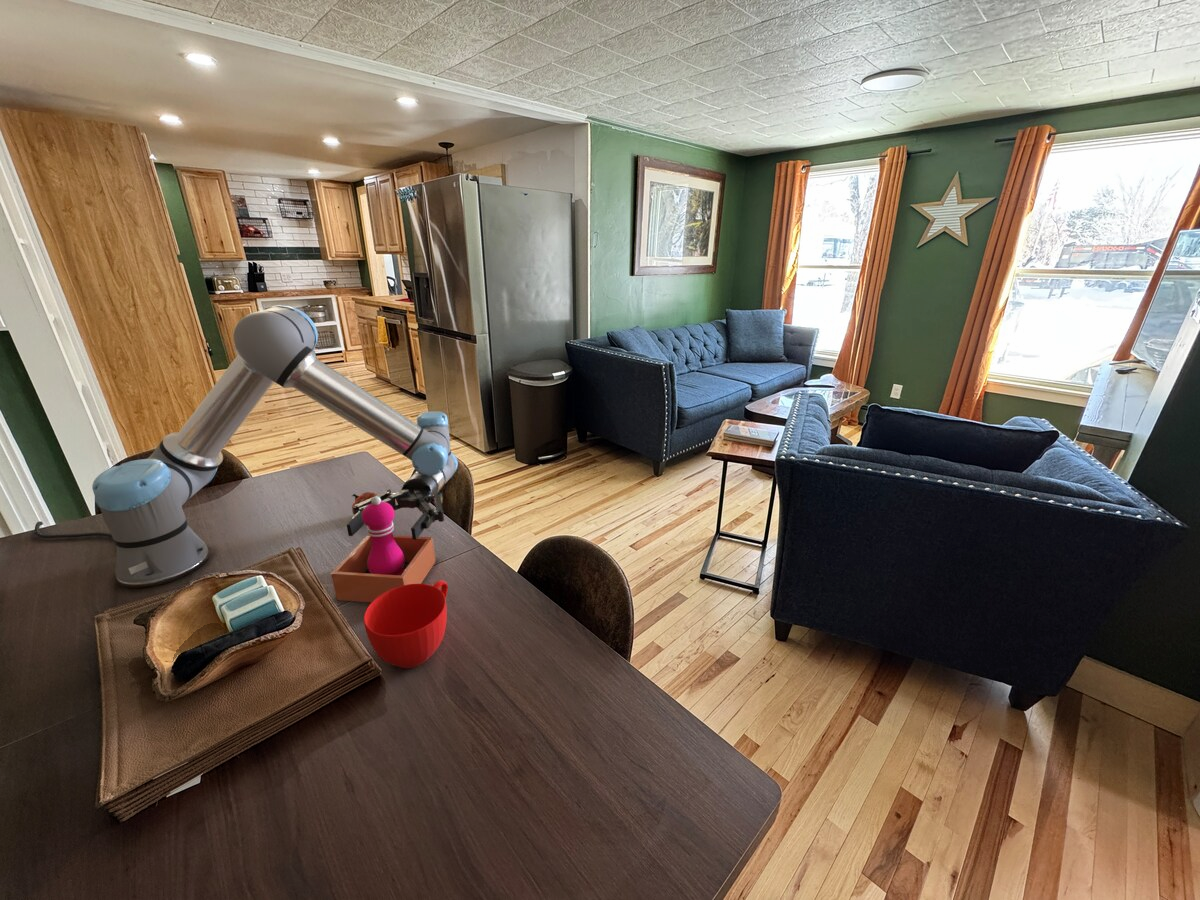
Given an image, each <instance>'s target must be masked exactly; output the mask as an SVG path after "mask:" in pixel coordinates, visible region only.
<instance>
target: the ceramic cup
mask: <svg viewBox="0 0 1200 900" xmlns="http://www.w3.org/2000/svg"><path fill="white" fill-rule="evenodd" d="M448 590H449V585H448V583H447V582H446V581H445V580H438V581H436V582H435V583H434V584H433V585H431V584H427V583H421V584H408V585H403V586H399V587H396V588H394V589H391V590H389V591H387V592H385V593H383V594H382V595H380V596H379V597H377V598H376V599H375V600H374V601H373V602H370V603H369V605H368V607H367V608H366V610H365V611H364V615H363V625H364V630H365V632H366V636H367V639H368V641H369V643H370V646H371V647H372V649H373V650H374V652H375V654H376V655H377V656H378V657H379V658H380V659H382V660H383V661H384V662H385V663H387V664H390V665H392V666H395V667H399V668H403V669H411V668H415V667H417V666H421V665H422V664H424V663H425V662H427V661H428V660H429V659H430V658H431V656H433V654H434V653H435V652H436V651H437V650H438V648H439V646H440V645H441V643H442V641H443V639H444V636H445V632H446V627H447V617H448V615H447V613H448V610H447V609H448V608H447V597H448Z"/></svg>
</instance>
